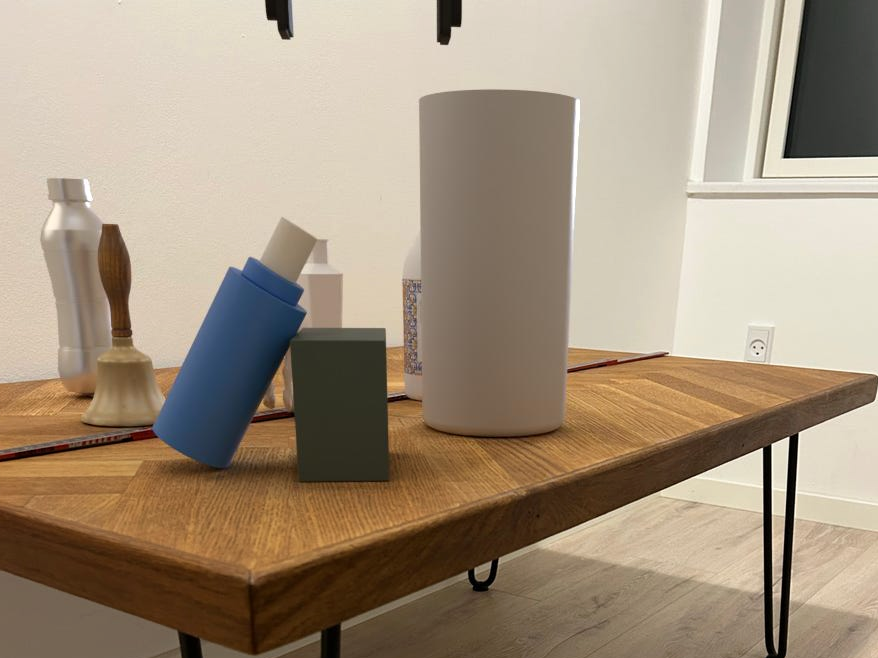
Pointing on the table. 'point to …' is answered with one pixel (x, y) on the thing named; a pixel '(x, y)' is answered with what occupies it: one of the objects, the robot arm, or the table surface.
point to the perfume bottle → (321, 290)
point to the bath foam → (412, 321)
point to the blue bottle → (237, 351)
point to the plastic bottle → (76, 283)
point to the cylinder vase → (496, 258)
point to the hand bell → (121, 349)
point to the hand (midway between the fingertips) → (365, 38)
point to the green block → (340, 404)
